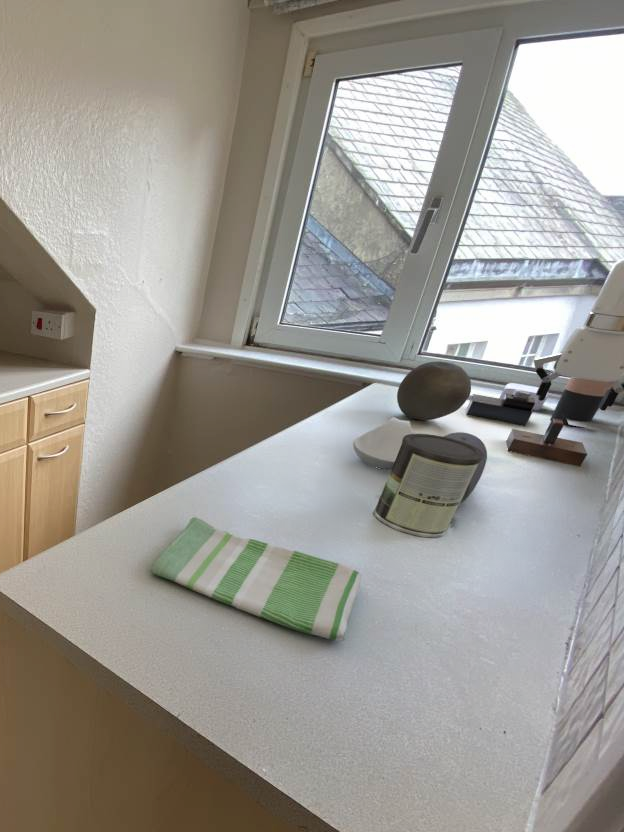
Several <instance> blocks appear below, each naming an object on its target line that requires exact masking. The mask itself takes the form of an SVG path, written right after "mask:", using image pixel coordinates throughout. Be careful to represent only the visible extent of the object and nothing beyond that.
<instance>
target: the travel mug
mask: <svg viewBox="0 0 624 832" xmlns="http://www.w3.org/2000/svg"><path fill="white" fill-rule="evenodd" d="M569 378H570V379H568V382H567V384H566V386H565V387H564V389H563V392H562V393H561V396H560V398H559V400H558V402H557V404H556V406H555V408H554V409H553V412H552V415H551V416H550V419H549V420H550V422H551V421H552V419H553V418H554V419H559V420H562V421H563V424H564V426H563V427H569V428H576V429H586V427H585V426H579V425H574V424H569V421H568V420H570V421H574V422H575V421H577V422H585V423H586V422H587V423H589V422H592V421H593V419H594V417H595V416H596V414H597V412H598V411H599V410H600V408H599V405H600V403H601V401H602V399H603V397H604V395H605V393H606V392H607V390H609V389H610V388H611V387H612V386H611V385H610V383H609V382H604V381H596V380H588V379H581V378H574V377H569Z"/></svg>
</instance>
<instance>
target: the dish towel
mask: <svg viewBox="0 0 624 832" xmlns="http://www.w3.org/2000/svg"><path fill="white" fill-rule="evenodd" d="M149 572H150V573H152V574H153V575H155V576H158V577H161V578H163V579H166V580H168V581H171V582H175V583H177V584H179V585H181V586H183V587H186V588H188V589H190V590H192V591H194V592H197V593H199V594H202V595H204V596H207V597H209V598H211V599H213V600H215V601H218V602H221V603H223V604H225V605H228V606H232V607H234V608H236V609H238V610H240V611H242V612H243V611H244V612H246V613H249V614H251V615H254V616H257V617H259V618H261V619H265V620H267V621H270V622H272V623H274V624H277V625H280V626H281V627H282V626H283V627H285V628H289V629H291V630H293V631H296V632H301V633H304V634H309V635H314V636H317V637H320V638H323V639H324V638H325V639H327V640H331V641H339V642H342V641H345V637H346V636H345V634H346V631H347V627H348V624H349V620H350V617H351V614H352V612H353V609H354V605H355V602H356V599H357V596H358V593H359V589H360V587H361V579H362V573H361V572H360V571H357V570H355V569H354V568H352V567H351V566H348V565H346V564H342V563H339V562H335V561H332V560H328V559H324V558H321V557H318V556H315V555H311V554H307V553H305V552H302V551H298V550H293V549H289V548H285V547H281V546H277V545H273V544H270V543H268V542H264V541H262V540H258V539H253V538H245V537H241V536H238V535H235V534H233V533H230V532H229V531H225V530H223V529H220V528H218V527H215V526H213V525H211V524H209V523H207V522H206V521H204V520H203V519H201V518H199V517H196V516H194V517H191V519H190V520H189V522H188V524H187V525H186V526H185V528H184V530H183V532H181V534H180V535H178V536H177V537H176V538H175V539H174V540H173V541H172V542H171V543H170V544H169V545H168V546H167V548H165V549H164V550H163V551H162V552H161V553H160V554H159V556H158V557H156V559H155V560H154V562H153V563H152V564H151V565H150V568H149Z"/></svg>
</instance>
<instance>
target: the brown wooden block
mask: <svg viewBox="0 0 624 832" xmlns="http://www.w3.org/2000/svg"><path fill="white" fill-rule="evenodd" d="M543 436H544V434H543V433H536V432H532V431H526V430H521V429H516V428H511V431H510V432H509V435H508V437H507V438H506V448H508V450H507V452H510V451H512V452H511V453H514V452H516V453H515V454H520V455H525V456H528V455H529V456H528V457H534V458H537V459H543V460H547V461H552V462H556V463H560V464H566V465H570V466H575V467H578V468H579V467H581V466H582V465H583V463H584V462H585V460H586V458H587V456H588V452H587V450H586V448H585V445H584V442H581V441H577V440H571V439H566V438H563V437H562V438H561V437H557V439H556V441H555V442H554V444H551V443H546V442H544V439H543Z"/></svg>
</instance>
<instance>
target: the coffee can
mask: <svg viewBox="0 0 624 832" xmlns="http://www.w3.org/2000/svg"><path fill="white" fill-rule="evenodd" d="M443 436H444V435H437V434H429V433H413V434H408V435H406V436H404V437H403V440H402V445H401V447H400V450H399V452H398V455H397V457H396V460H395V462H394V465H393V467H392V470H390V472H389V475H388V477H387V479H386V482H385V485H384V487H383V489H382V492H381V494H380V497H379V499H378V500H377V501H378V502H377V504H376V506H375V509H374V510H373V514H375V515H374V516H375V518H376V517H377V518H378V519H379V520H378V519H377V518H376V519H377V520H378V521H380V522H381V521H382V522H383V523H382V522H381V523H382V524H384V525H386V526H387V525H388V527H389V528H392V529H394V530H396V531H399V532H401V533H405V534H407V535H412V536H416V537H423V538H439V536H440V537H444V536H445V535H446V534H447V530H448V528H449V526H450V524H451V523H452V520H453V518H454V516H455V514H456V512H457V510H458V508H459V506H460V504H461V503H460V502H461V500H462V498H463V496H464V494H465V492H466V490H467V488H468V486H469V483H470V481H471V479H472V477H473V475H474V473H475V471H476V469H477V467H478V465H479V463H480V461H481V460H482V459H483V457H484V453H483V452H482V451H481V450H479V449H478V448H476V447H474V446H472V445H470V444H467V443H465V442H462V441H458V440H455V439H451V438H447V437H443Z"/></svg>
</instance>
